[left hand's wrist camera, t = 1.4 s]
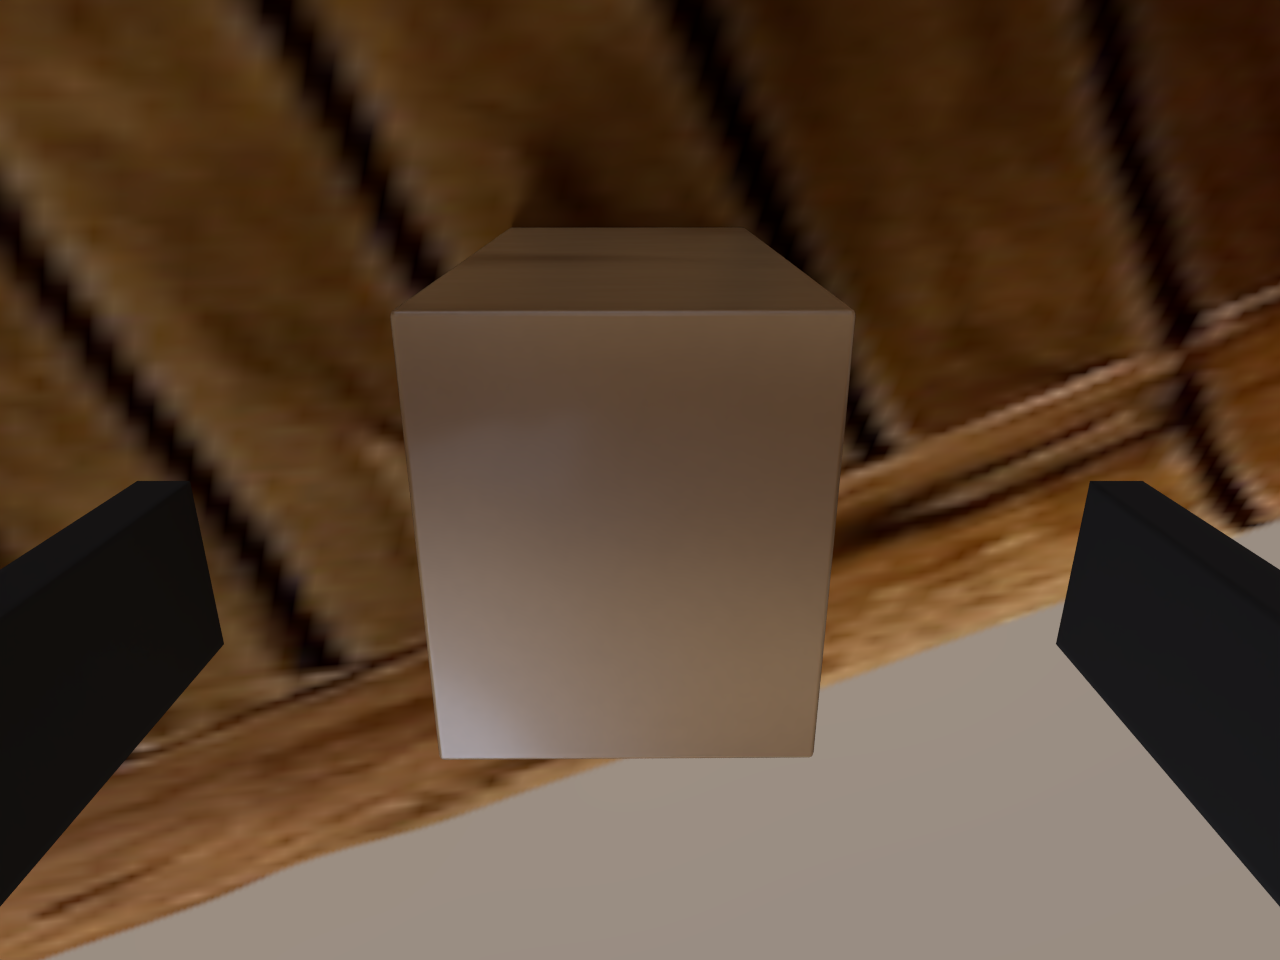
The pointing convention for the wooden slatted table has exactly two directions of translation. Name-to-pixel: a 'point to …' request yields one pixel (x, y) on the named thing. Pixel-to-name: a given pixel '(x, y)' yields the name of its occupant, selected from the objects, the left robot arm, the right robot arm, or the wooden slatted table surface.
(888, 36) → the wooden slatted table surface
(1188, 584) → the left robot arm
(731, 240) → the block
